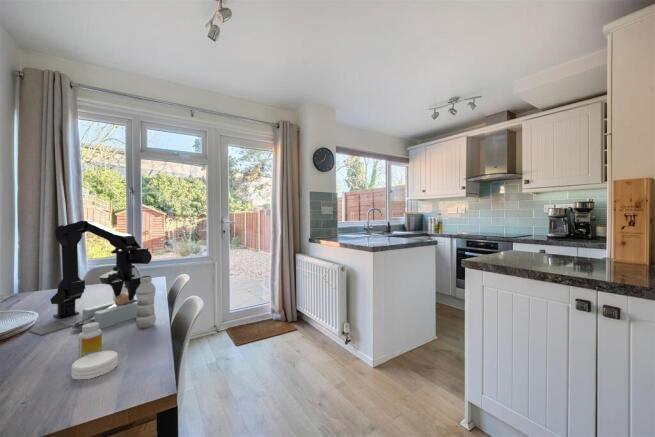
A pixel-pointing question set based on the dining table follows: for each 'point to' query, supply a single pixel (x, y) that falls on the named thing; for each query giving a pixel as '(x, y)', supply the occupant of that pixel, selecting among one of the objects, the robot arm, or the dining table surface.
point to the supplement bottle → (90, 339)
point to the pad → (50, 328)
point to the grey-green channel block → (111, 313)
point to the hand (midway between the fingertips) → (124, 299)
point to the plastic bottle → (145, 303)
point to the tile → (122, 298)
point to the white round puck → (94, 364)
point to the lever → (92, 318)
